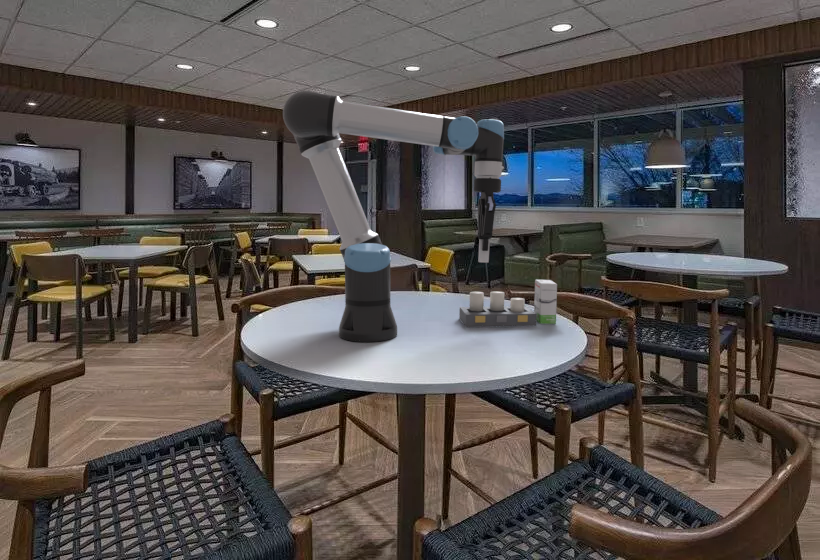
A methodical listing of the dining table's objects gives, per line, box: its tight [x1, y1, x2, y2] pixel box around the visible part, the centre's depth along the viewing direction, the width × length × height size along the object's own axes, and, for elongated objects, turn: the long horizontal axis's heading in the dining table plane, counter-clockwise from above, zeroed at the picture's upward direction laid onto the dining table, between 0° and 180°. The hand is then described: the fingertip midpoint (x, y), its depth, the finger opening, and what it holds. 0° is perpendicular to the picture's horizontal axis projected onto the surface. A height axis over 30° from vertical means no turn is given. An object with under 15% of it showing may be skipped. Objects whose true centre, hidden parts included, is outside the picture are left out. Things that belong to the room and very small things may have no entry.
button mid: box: [489, 291, 505, 311], centre depth 150 cm, size 4×4×5 cm
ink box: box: [533, 279, 558, 325], centre depth 152 cm, size 9×5×12 cm, turn 178°
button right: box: [510, 297, 526, 312], centre depth 150 cm, size 4×4×5 cm
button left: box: [469, 291, 485, 311], centre depth 149 cm, size 4×4×5 cm
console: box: [458, 305, 537, 328], centre depth 150 cm, size 20×11×4 cm, turn 94°
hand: (483, 262), depth 148 cm, fingers closed
